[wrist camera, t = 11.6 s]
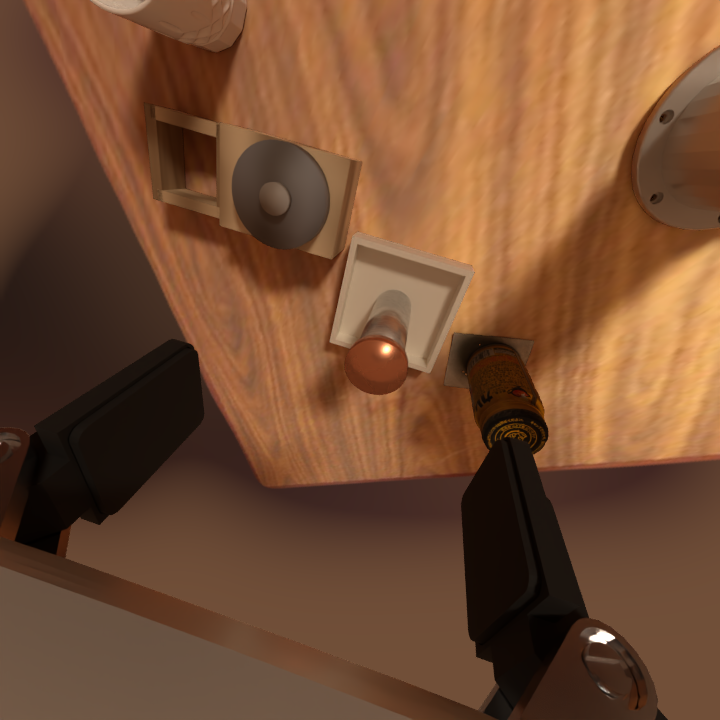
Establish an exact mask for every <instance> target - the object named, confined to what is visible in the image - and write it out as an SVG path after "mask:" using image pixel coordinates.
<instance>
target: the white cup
mask: <svg viewBox="0 0 720 720" xmlns="http://www.w3.org/2000/svg"><path fill="white" fill-rule="evenodd" d="M90 1H91V2H92V3H94V4H95V5H97V6H98V7H100V8H102V9H103V10H105V11H108V12H110V13H112V14H115V15H117V16H120V17H122V18H124V19H127V20H129V21H132V22H134V23H136V24H139V25H141V26H143V27H146V28H148V29H150V30H153V31H155V32H157V33H160V34H162V35H164V36H167V37H169V38H172V39H175V40H178V41H180V42H183V43H186V44H191V45H194V46H196V47H198V48H201V49H205V50H209V51H212V52H219V51H221V50H224V49H226V48H229V47H231V46H232V45H233V43H234V42H235V40H236V39H237V37H238V36H239V34H240V33H241V31H242V29H243V24H244V19H245V14H246V9H247V3H246V0H90Z"/></svg>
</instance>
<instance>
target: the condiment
mask: <svg viewBox="0 0 720 720" xmlns="http://www.w3.org/2000/svg"><path fill="white" fill-rule="evenodd" d="M479 344H481V345H479ZM533 344H534V341H530V340H522V339H512V338H505V337H493V336H482V335H474V334H461V333H454V336H453V340H452V345H451V350H450V355H449V360H448V364H447V370H446V375H445V380H444V385H445V386H451V387H459V388H467V389H469V390H470V394H471V400H472V407H473V412H474V418H475V421H476V424H477V426H478V427H479V428H480V430H481V433H482V439H483V441H484V443H485V445H486V447H487V448H488V449H489V450H491V448H492V446H493V445H494V443H495V442H496V440H498V439H500V440H503V438H504V437H506V436H508V437H512V438H515V439H519V440H522V441H525V442H528V443H529V445H530V447H531V451H532V454H535V453H537V452H538V451H540V450H541V449H542V448H543V447H544V445H545V443H546V441H547V440H548V427H547V425H546V423H545V420H544V407H543V405H542V401H541V400H540V396H539V394H538V392H537V391H536V389H535V386H534V384H533V382H532V379H531V377H530V375H529V373H528V370H527V369H526V367H525V366H526V363H527V360H528V357H529V355H530V352H531V349H532V347H533ZM462 371H464V372H465V373H467V375H465V373H463V372H462Z"/></svg>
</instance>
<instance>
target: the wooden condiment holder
mask: <svg viewBox="0 0 720 720" xmlns="http://www.w3.org/2000/svg"><path fill="white" fill-rule="evenodd" d="M144 110H145V120H146V130H147V140H148V150H149V160H150V170H151V180H152V190H153V199H156V200H159V201H162V202H166V203H169V204H172V205H176V206H179V207H182V208H186V209H189V210H192V211H196V212H199V213H202V214H206V215H209V216H212V217H216V218H219V219H220V226H222V227H225V228H229V229H232V230H235V231H239V232H242V233H245V234H249V235H252V236H254V237H255V238H256V239H257V240H259V241H260V242H262V243H264V244H266V245H268V246H270V247H273V248H277V249H293V248H295V249H298V250H302V251H305V252H308V253H311V254H315V255H318V256H321V257H325V258H328V259H331V260H332V259H333V258H334V257H335V256H336V255H337V254H339V253H340V252H341V251H342V250H343V249H344V247H345V243H346V238H347V233H348V228H349V223H350V219H351V214H352V209H353V204H354V199H355V195H356V190H357V185H358V180H359V175H360V171H361V166H362V161H359V160H356V159H352V158H349V157H345V156H342V155H338V154H335V153H331V152H328V151H324V150H321V149H318V148H314V147H311V146H307V145H304V144H300V143H297V142H293V141H290V140H286V139H283V138H279V137H276V136H273V135H269V134H266V133H262V132H259V131H255V130H252V129H248V128H244V127H239V126H235V125H230V124H226V123H222V122H220V123H219V122H215V121H212V120H208V119H205V118H201V117H198V116H194V115H191V114H188V113H184V112H181V111H177V110H174V109H170V108H166V107H161V106H157V105H153V104H149V103H144ZM183 128H186V129H189V130H193V131H196V132H200V133H203V134H207V135H210V136H213V137H216V185H217V198H215V197H212V196H208V195H205V194H202V193H198V192H195V191H192V190H188V189H186V187H185V167H184V147H183Z"/></svg>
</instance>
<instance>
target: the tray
mask: <svg viewBox="0 0 720 720" xmlns="http://www.w3.org/2000/svg"><path fill="white" fill-rule="evenodd" d="M474 273H475V272H474V270H473V267H472V265H468V264H465V263H461V262H458V261H455V260H451V259H448V258H445V257H441V256H438V255H435V254H431V253H428V252H424V251H421V250H418V249H414V248H411V247H408V246H404V245H401V244H398V243H394V242H391V241H388V240H384V239H381V238H377V237H374V236H371V235H367V234H364V233H361V232H357V233H355V234H354V235H353V236H352V241H351V245H350V250H349V255H348V259H347V264H346V268H345V273H344V278H343V282H342V287H341V291H340V296H339V300H338V305H337V310H336V314H335V319H334V323H333V328H332V333H331V337H330V343H333V344H337V345H340V346H343V347H346V348H349V349H350V348H351V346H352V345H353V344H354V343H355V342H356V341H357V340H358V339H360V337H361V335H362V332H363V330H364V328H365V325H366V323H367V321H368V318H369V316H370V314H371V311H372V309H373V307H374V304H375V302H376V300H377V298H378V297H379V295H380V294H381V293H383V292H385V291H387V290H399V291H401V292H403V293H405V294H406V295H407V296H408V298H409V299H410V302H411V315H410V321H409V328H408V335H407V341H406V348H405V352H406V354H407V358H408V367H410V368H413V369H416V370H420V371H423V372H426V373H429V374H430V372H431V370H432V368H433V365H434V363H435V361H436V359H437V356H438V354H439V352H440V350H441V347H442V345H443V343H444V341H445V338H446V336H447V334H448V331H449V329H450V327H451V325H452V322H453V320H454V318H455V316H456V313H457V311H458V309H459V307H460V304H461V302H462V300H463V298H464V295H465V293H466V291H467V288H468V286H469V284H470V282H471V279H472V277H473V275H474Z"/></svg>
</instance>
